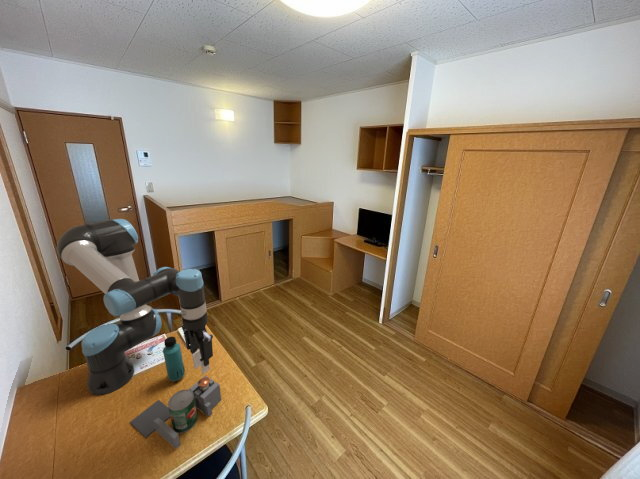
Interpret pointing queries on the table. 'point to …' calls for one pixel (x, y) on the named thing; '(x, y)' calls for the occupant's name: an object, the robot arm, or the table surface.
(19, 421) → the table surface
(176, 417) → the canned tomato
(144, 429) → the mat
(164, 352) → the beverage bottle
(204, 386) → the plunger
